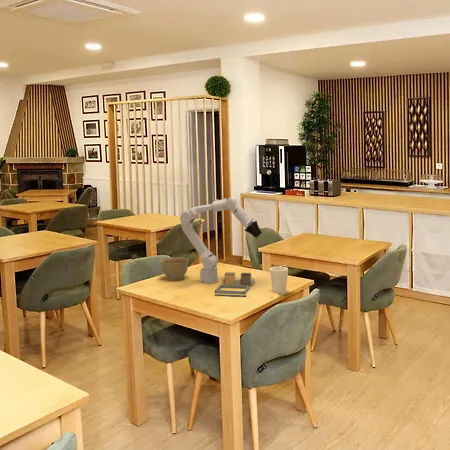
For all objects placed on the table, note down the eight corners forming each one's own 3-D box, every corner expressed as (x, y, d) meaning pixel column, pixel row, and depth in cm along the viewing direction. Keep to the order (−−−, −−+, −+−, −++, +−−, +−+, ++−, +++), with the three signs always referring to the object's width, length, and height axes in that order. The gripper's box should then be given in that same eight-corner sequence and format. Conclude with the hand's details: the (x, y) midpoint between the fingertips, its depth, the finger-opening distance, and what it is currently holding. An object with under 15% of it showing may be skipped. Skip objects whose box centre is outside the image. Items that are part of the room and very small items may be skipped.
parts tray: (214, 295, 288) (214, 290, 288) (220, 289, 299) (220, 284, 298) (245, 297, 284) (244, 291, 284) (249, 291, 295) (249, 285, 294)
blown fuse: (241, 284, 302) (240, 274, 301) (242, 283, 304) (242, 272, 303) (250, 285, 300) (249, 274, 299) (251, 283, 303) (251, 272, 302)
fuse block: (251, 289, 297) (251, 281, 296) (220, 288, 301) (220, 280, 300) (255, 284, 306) (255, 276, 306) (225, 283, 311) (224, 275, 310)
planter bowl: (169, 274, 336) (168, 256, 334) (193, 275, 330) (193, 257, 328) (156, 281, 321) (155, 262, 319) (182, 283, 315) (181, 264, 314)
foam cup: (283, 296, 283) (283, 271, 281) (267, 294, 288) (266, 269, 285) (291, 291, 291) (291, 267, 288) (275, 289, 295) (275, 265, 293)
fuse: (224, 284, 304) (224, 273, 303) (226, 282, 307) (226, 272, 306) (233, 284, 303) (233, 273, 302) (235, 283, 305) (234, 272, 304)
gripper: (244, 213, 291) (261, 232, 290) (250, 209, 305) (267, 228, 304) (234, 221, 293) (252, 241, 292) (241, 217, 307) (257, 236, 306)
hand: (259, 235), depth 298 cm, fingers open, 7 cm apart
